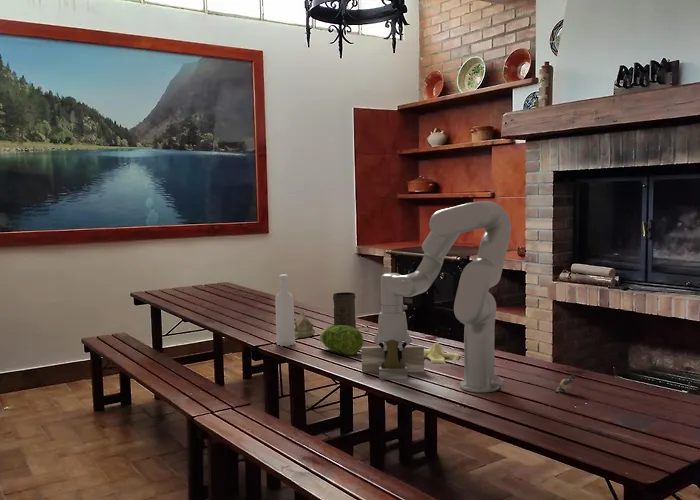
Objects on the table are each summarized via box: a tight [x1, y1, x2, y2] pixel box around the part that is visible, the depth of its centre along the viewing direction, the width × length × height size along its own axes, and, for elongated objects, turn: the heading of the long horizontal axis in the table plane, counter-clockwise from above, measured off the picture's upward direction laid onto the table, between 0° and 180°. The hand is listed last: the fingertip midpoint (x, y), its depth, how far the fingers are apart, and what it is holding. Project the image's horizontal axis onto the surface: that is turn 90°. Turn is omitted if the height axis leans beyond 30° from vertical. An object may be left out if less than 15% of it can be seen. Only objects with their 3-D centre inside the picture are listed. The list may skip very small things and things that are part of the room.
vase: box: [554, 374, 577, 392], centre depth 201 cm, size 5×5×6 cm
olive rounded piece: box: [384, 340, 401, 369], centre depth 224 cm, size 6×6×11 cm
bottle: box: [274, 273, 296, 347], centre depth 274 cm, size 8×8×30 cm
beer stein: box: [332, 291, 357, 328], centre depth 289 cm, size 15×11×20 cm
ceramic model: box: [294, 312, 316, 338], centre depth 295 cm, size 14×11×10 cm
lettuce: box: [319, 324, 364, 357], centre depth 260 cm, size 12×21×11 cm, turn 43°
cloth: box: [424, 342, 461, 365], centre depth 248 cm, size 22×19×6 cm
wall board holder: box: [361, 345, 425, 380], centre depth 224 cm, size 10×22×9 cm, turn 87°
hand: (393, 360), depth 225 cm, fingers closed on olive rounded piece, 3 cm apart
